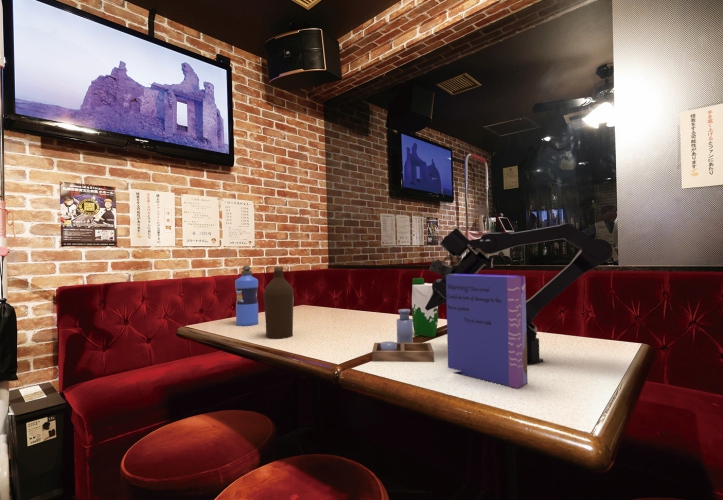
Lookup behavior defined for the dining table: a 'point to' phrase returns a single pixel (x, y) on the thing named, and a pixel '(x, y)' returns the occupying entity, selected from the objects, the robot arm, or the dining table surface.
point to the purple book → (487, 327)
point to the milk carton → (423, 309)
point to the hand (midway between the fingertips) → (430, 307)
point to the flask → (404, 327)
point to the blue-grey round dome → (388, 346)
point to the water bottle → (246, 299)
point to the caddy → (404, 353)
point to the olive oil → (279, 306)
